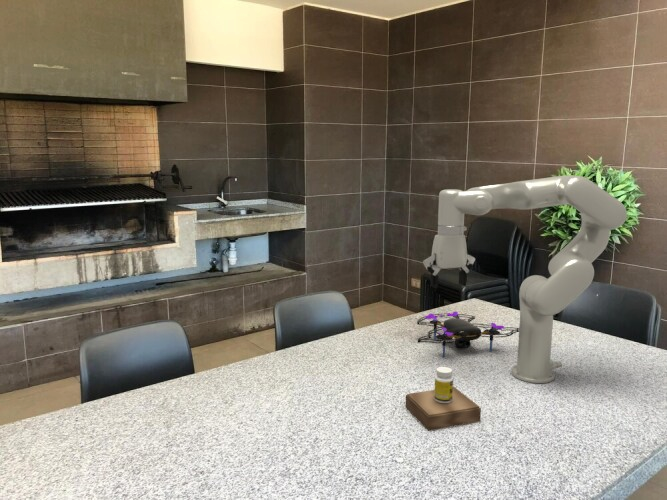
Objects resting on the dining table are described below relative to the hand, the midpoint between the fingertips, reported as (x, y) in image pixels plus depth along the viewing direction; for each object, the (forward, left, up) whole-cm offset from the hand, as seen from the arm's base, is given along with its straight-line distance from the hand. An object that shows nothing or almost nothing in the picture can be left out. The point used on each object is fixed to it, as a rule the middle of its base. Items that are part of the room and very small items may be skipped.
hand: (448, 286), depth 160 cm
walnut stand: (+15, +24, -28) cm, 40 cm away
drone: (-16, -21, -29) cm, 39 cm away
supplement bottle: (+14, +23, -24) cm, 37 cm away
